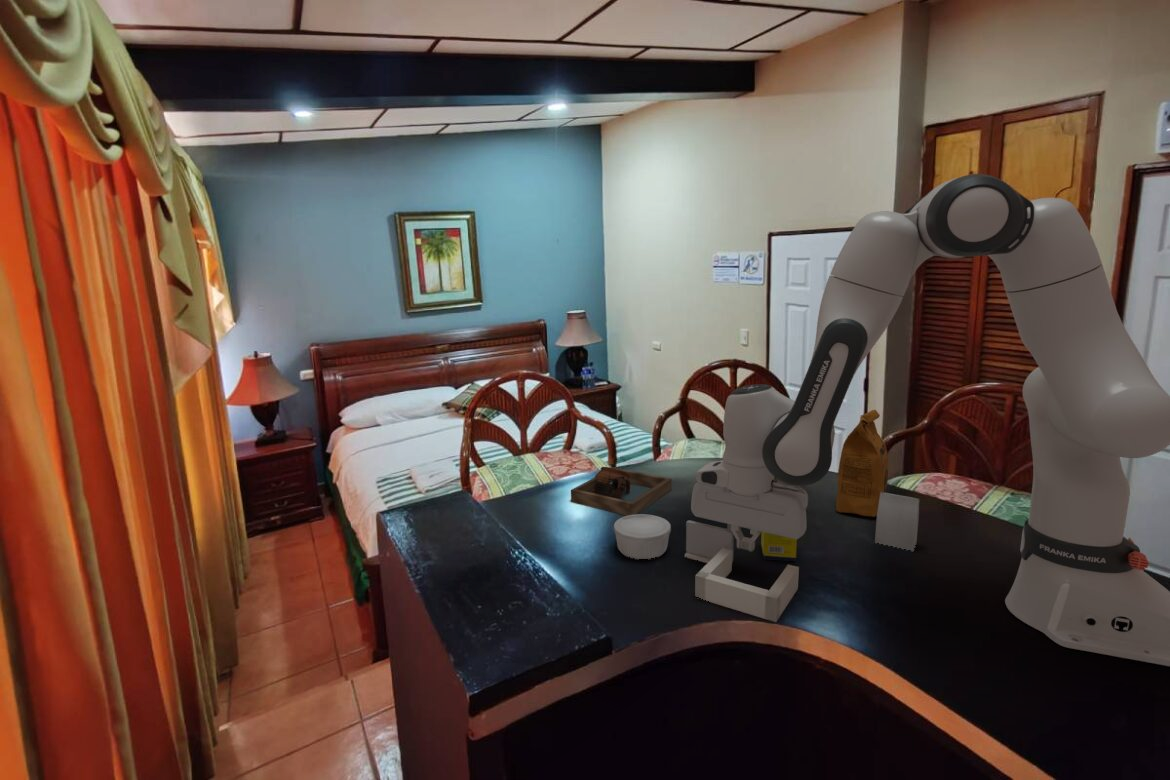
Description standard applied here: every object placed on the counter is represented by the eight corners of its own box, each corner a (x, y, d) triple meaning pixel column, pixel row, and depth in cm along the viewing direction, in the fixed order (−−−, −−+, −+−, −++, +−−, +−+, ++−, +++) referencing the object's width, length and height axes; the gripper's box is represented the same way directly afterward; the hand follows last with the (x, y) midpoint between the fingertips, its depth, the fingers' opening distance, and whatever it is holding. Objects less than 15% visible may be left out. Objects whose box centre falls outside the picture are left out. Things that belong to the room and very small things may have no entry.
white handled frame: (802, 581, 105) (803, 560, 104) (776, 622, 94) (777, 598, 93) (690, 552, 117) (690, 532, 116) (654, 584, 106) (654, 563, 105)
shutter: (733, 560, 112) (734, 519, 110) (730, 563, 110) (731, 522, 109) (688, 548, 117) (689, 509, 115) (685, 551, 116) (685, 512, 114)
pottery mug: (582, 496, 149) (591, 464, 151) (614, 506, 152) (623, 475, 154) (604, 499, 138) (614, 465, 140) (638, 511, 142) (647, 477, 143)
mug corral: (671, 490, 150) (671, 478, 149) (632, 516, 134) (632, 504, 134) (613, 478, 159) (613, 467, 159) (571, 501, 144) (570, 490, 143)
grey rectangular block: (913, 551, 115) (917, 502, 113) (874, 543, 119) (878, 495, 117) (916, 544, 118) (920, 496, 116) (878, 536, 122) (882, 489, 120)
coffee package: (893, 505, 137) (900, 411, 132) (876, 523, 128) (884, 422, 123) (847, 495, 143) (853, 405, 139) (829, 512, 134) (834, 416, 130)
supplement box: (796, 562, 112) (799, 506, 110) (763, 559, 113) (765, 505, 111) (792, 547, 118) (794, 494, 116) (760, 545, 119) (762, 493, 117)
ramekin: (656, 533, 126) (656, 510, 125) (680, 557, 115) (681, 531, 114) (606, 542, 123) (605, 518, 122) (626, 567, 112) (626, 541, 111)
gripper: (813, 481, 103) (809, 556, 106) (702, 461, 114) (701, 529, 117) (803, 492, 98) (799, 571, 100) (687, 471, 109) (686, 542, 112)
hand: (745, 548), depth 109 cm, fingers closed
